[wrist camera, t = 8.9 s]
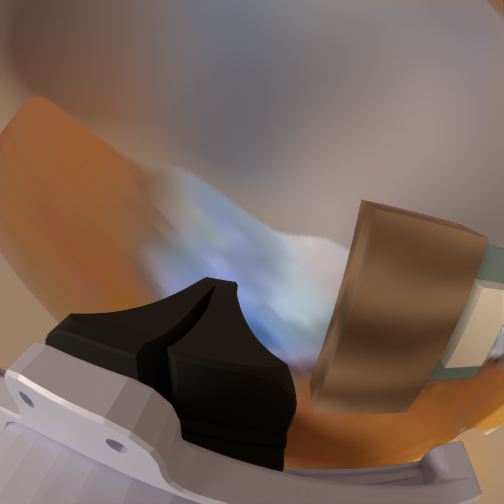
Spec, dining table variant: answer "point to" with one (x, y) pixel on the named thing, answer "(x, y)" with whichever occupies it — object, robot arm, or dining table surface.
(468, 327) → the beige flat block
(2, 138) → the dining table surface
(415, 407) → the dining table surface
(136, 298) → the dining table surface
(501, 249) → the mat
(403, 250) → the panel
